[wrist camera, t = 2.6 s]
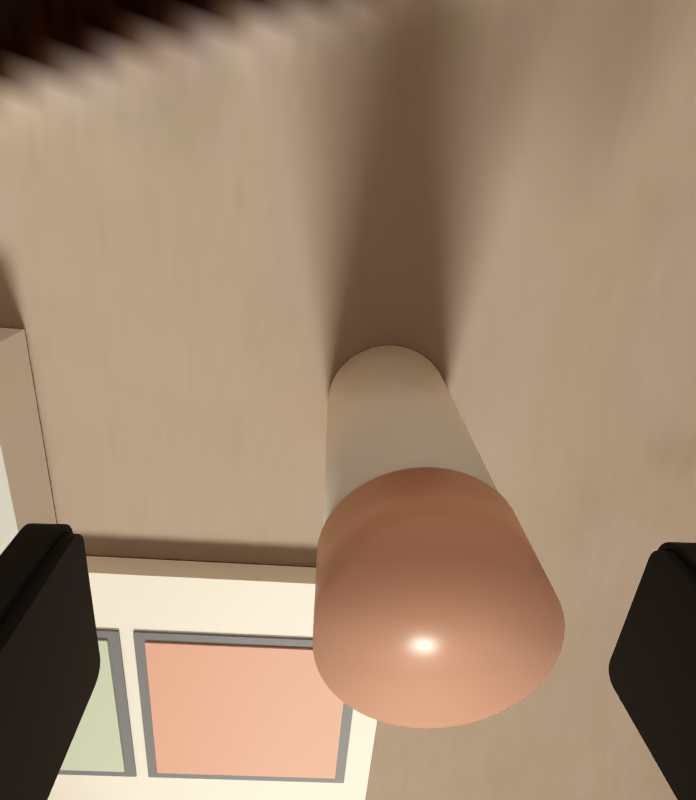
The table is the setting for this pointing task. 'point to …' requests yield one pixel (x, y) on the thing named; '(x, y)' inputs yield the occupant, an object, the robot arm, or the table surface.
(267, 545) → the table surface
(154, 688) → the colouring board
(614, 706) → the table surface
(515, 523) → the marker
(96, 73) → the table surface
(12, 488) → the button collar
